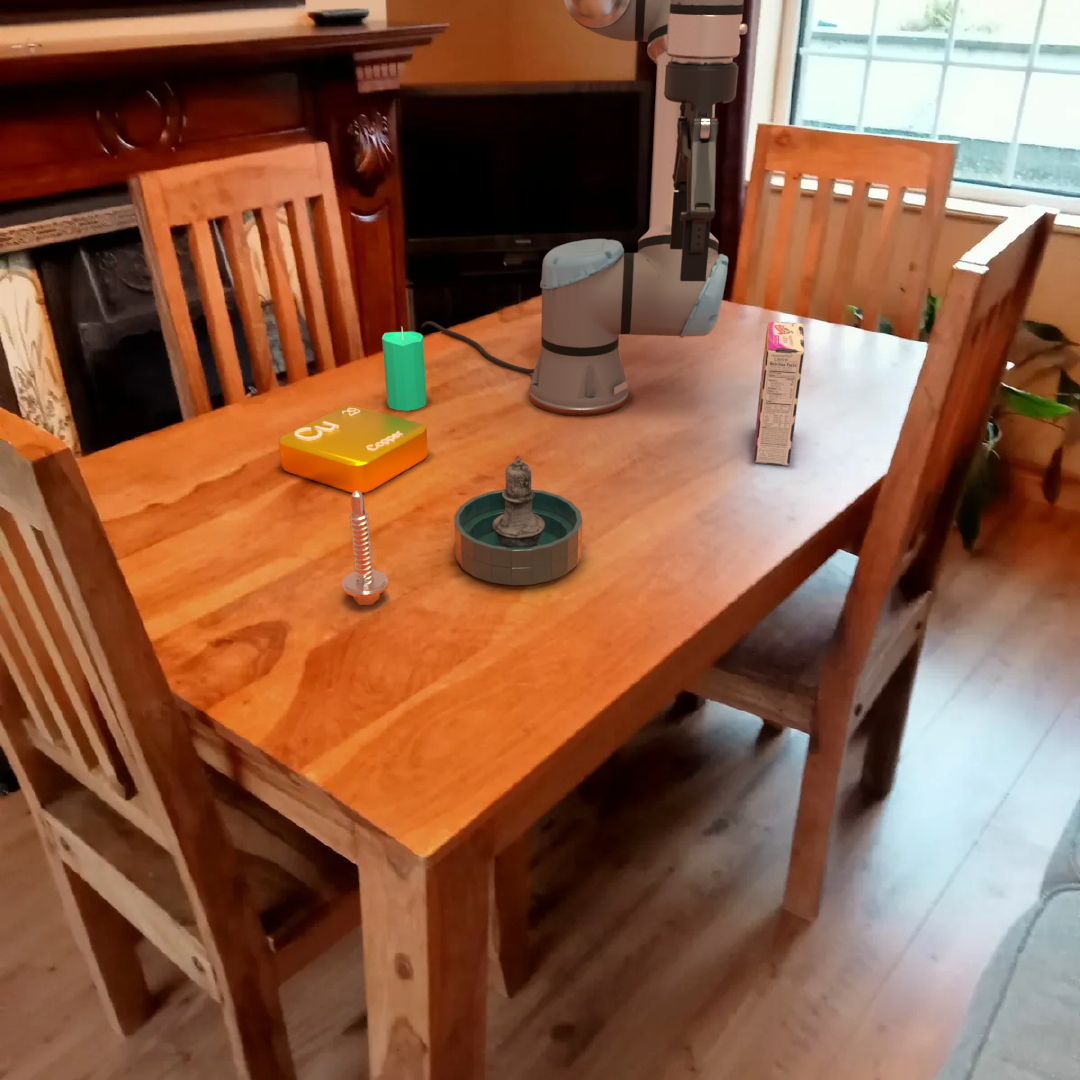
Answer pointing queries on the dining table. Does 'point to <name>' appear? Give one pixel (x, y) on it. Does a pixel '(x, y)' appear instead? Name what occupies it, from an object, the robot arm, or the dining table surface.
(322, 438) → the element tile
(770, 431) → the candy bar box
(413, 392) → the candle
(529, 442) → the dining table surface
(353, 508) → the screw
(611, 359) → the robot arm
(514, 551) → the bowl
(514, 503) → the salt shaker
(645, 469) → the dining table surface
